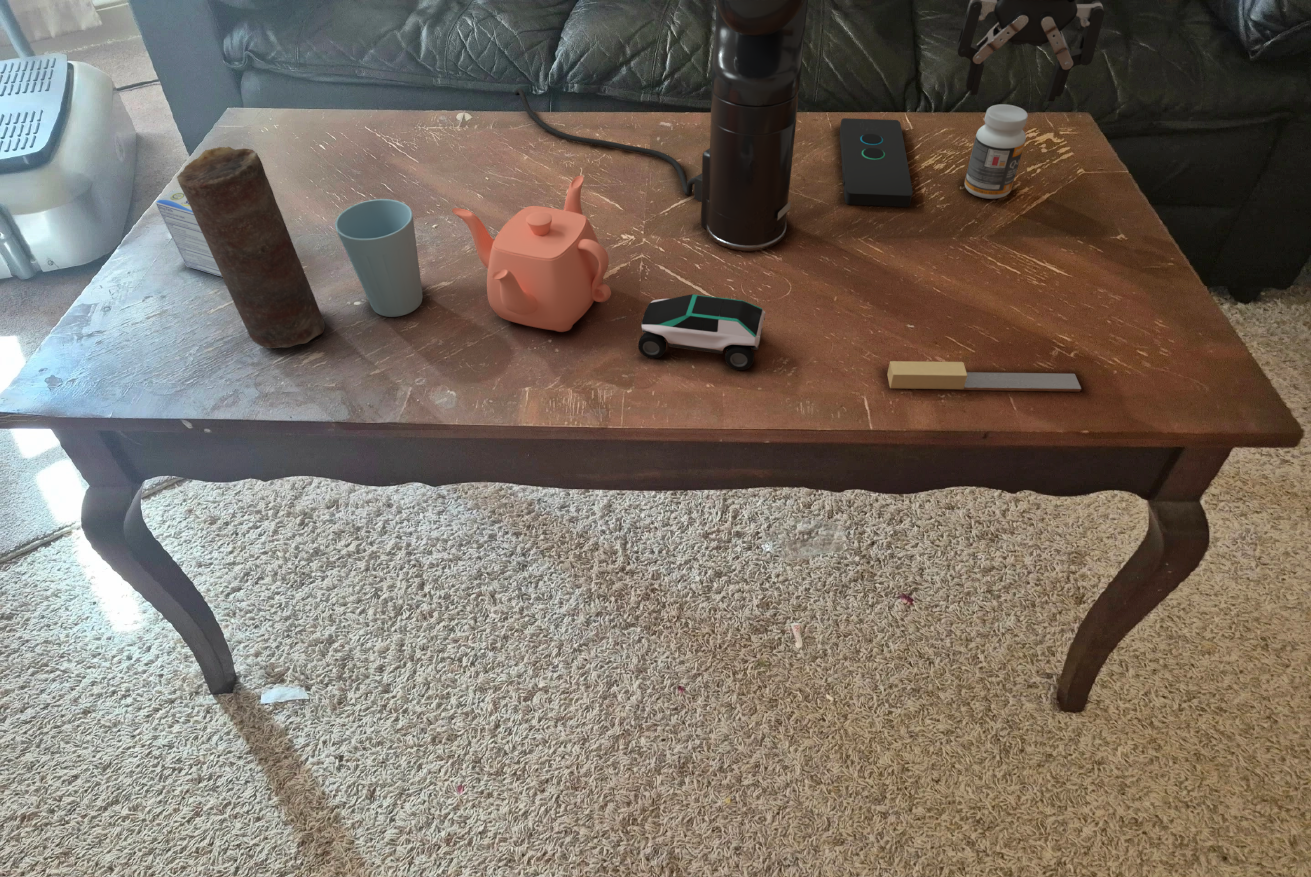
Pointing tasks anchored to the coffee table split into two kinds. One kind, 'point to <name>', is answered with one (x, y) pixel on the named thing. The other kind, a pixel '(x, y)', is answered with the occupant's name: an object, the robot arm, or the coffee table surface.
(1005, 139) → the pill bottle
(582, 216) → the teapot
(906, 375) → the knife
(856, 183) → the smart home device
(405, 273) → the cup
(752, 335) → the toy car
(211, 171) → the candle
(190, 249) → the medicine box
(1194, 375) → the coffee table surface
